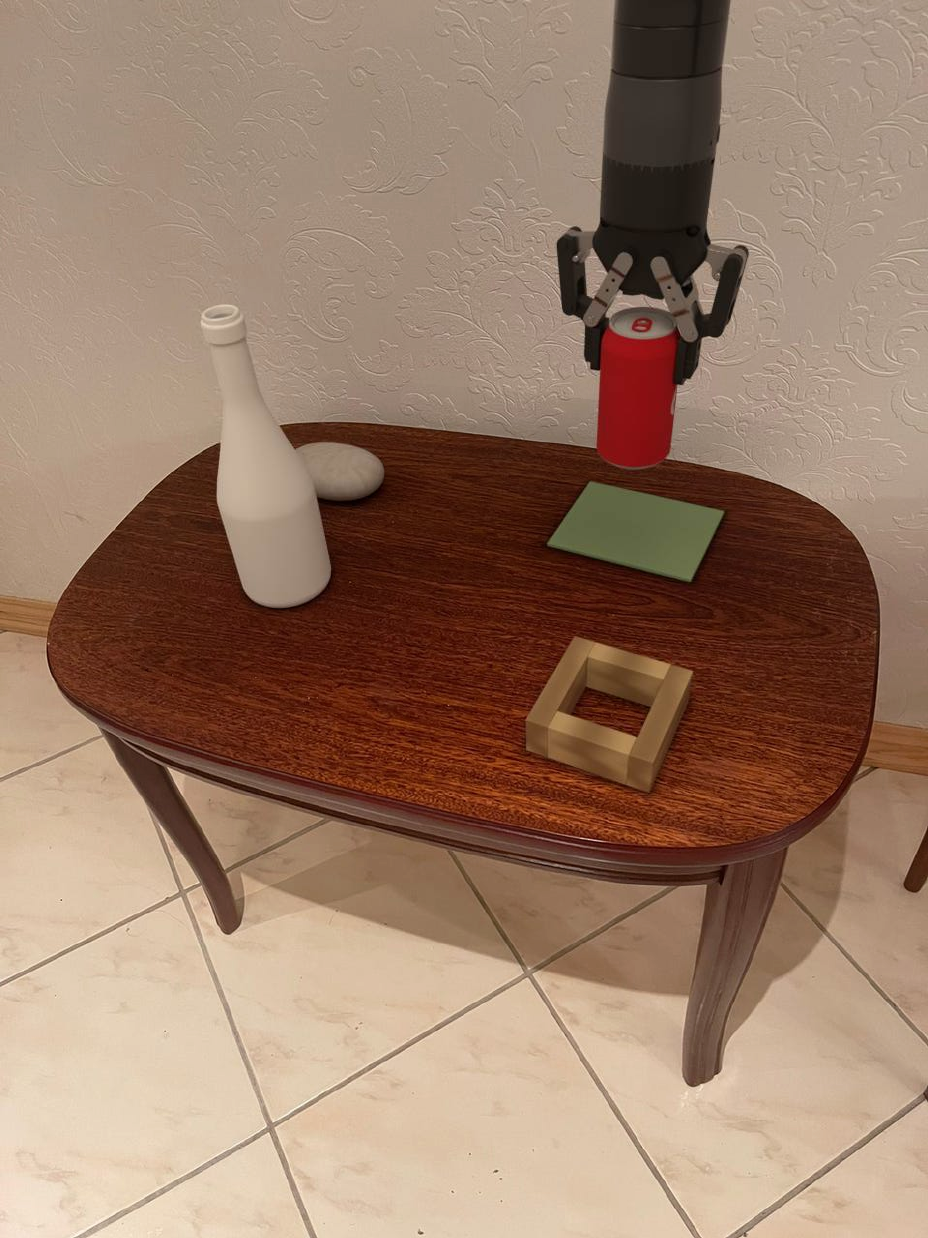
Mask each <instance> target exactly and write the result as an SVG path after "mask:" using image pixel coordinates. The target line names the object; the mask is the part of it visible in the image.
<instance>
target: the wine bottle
mask: <svg viewBox="0 0 928 1238" xmlns="http://www.w3.org/2000/svg"><path fill="white" fill-rule="evenodd" d="M200 327H201V331H202V335H203V338H204V341H205V342H206V343H208V345H209V349H210V350H209V351H210V354H211V359H212V363H213V367H214V371H215V375H216V380H217V383H218V387H219V391H220V396H221V400H222V423H221V436H220V437H221V438H220V450H219V459H218V466H217V467H218V469H217V476H216V503H217V507H218V510H219V514H220V517H221V520H222V524H223V527H224V530H225V533H226V537H227V541H228V543H229V547H230V550H231V553H232V556H233V560H234V563H235V567H236V570H237V574H238V576H239V580H240V583H241V586H242V590H243V591H244V593H245V594H246V595H247V597H248V598H249V599H251V600H252V602H254V603H256V604H258V605H260V606H264V607H267V608H273V609H287V608H291V607H298V606H300V605H303V604H306V603H308V602H309V601H311V600H313V599H315V598H316V597H318V596H319V595H320V594H321V593H322V592H323V591H324V590H325V589H326V587H327V586H328V583H329V582H330V580H331V575H332V574H331V572H332V565H331V561H330V556H329V555H330V554H329V549H328V545H327V541H326V537H325V532H324V526H323V521H322V517H321V512H320V508H319V507H320V506H319V503H318V497H316V492H315V487H314V483H313V480H312V478H311V476H310V474H309V472H308V470H307V468H306V467H305V465H304V463H303V461H302V460H301V458H300V457H299V455H298V454H297V452H296V451H295V449H296V448H294V446H293V445H292V443H291V442H290V439H288V437H287V436H286V434H285V433H284V431H283V429H282V427H281V426H280V424H279V423H278V421H277V420H276V419H275V417H274V415H273V413H272V412H271V411H270V409H269V407H268V406H267V403H266V402H265V399H264V397H263V395H262V393H261V390H260V387H259V382H258V379H257V375H256V371H255V367H254V363H253V360H252V355H251V351H250V348H249V344H248V341H247V338H246V336H247V334H248V329H247V323H246V320H245V316H244V314H243V313H242V312H241V311H240V309H239V307H237V306H236V305H233V304H217V305H213V306H211V307H208V308H206V309H205V310H204V311H202V313H201V320H200Z"/></svg>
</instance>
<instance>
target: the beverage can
mask: <svg viewBox="0 0 928 1238" xmlns="http://www.w3.org/2000/svg"><path fill="white" fill-rule="evenodd" d="M681 336H682V335H681V332H680V330H679V327H678V325H677V322H676V319H675V317H674V316H672V315H671V314H670V311H669V310H666V309H662V308H657V307H651V306H634V307H629V308H628V307H627V308H624V309H621V310H618V311H616V312H615V313H613V314H612V315H611V316H610V317H609V325H608V327H607V329H606V331H605V332H604V335H603V337H602V341H601V362H600V371H599V384H598V403H597V423H596V424H597V426H596V427H597V428H596V445H595V447H596V451H597V454H598V455H599V457H601V459H603V460H604V461H606V462H607V463H608V464H610V465H612V466H614V467H617V468H619V469H623V470H630V471H637V470H645V469H649V468H651V467H654V466H657V465H658V464H661V462H663V461H664V460H666V459H667V457H668V456H669V455H670V453H671V447H672V439H673V430H674V429H673V428H674V421H675V411H676V404H677V403H676V401H677V395H678V394H677V393H678V386H679V385H676V384H674V383H673V381H674V372H675V363H676V355H677V346H678V341H679V339H680V338H681Z"/></svg>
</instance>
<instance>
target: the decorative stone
mask: <svg viewBox="0 0 928 1238" xmlns="http://www.w3.org/2000/svg"><path fill="white" fill-rule="evenodd" d="M294 449H295V451H296V452H297V454H298V455H299V457H300V458H301V460H302V461H303V463H304V465H305V467H306V468H307V470H308V472H309V474H310V476H311V478H312V480H313V483H314V487H315V492H316V497H317V499H322V500H327V501H337V502H339V501H340V502H348V501H355V500H358V499H363V498H365V497H367V496H370V495H371V494H373V493H375V492H376V491H377V490H378V489H379V487H381V485H382V483H383V482H384V478H385V468H384V464H383V463H382V461H381V460H380V458H378V456H377V455H375V454H373V453H372V452H370V451H369V450H366V449H364V448H362V447H359V446H356V445H352V444H348V443H341V442H333V441H332V442H331V441H329V442H328V441H321V442H312V443H311V442H310V443H307V444H304V445H301V446H299V447H296V448H294Z"/></svg>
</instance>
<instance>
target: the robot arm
mask: <svg viewBox="0 0 928 1238" xmlns="http://www.w3.org/2000/svg"><path fill="white" fill-rule="evenodd" d="M731 2H732V0H614V5H613V7H614V8H613V21H612V22H613V23H612V24H613V25H612V41H611V57H610V61H611V62H610V74H609V83H608V89H607V93H606V99H605V105H604V107H605V108H604V118H603V119H604V120H603V139H602V141H603V142H602V160H601V181H600V202H599V203H600V204H599V223H598V227H597V228H596V230H595V231H594V230H593V231H591V230H590V231H584V230H582V229H581V227H579V226H577V225H574V226H571V227H570V228H569V229H568V230H567V231H565V233H563V234H562V236H560V237H559V238H558V239H557V241H556V244H555V245H556V256H557V269H558V281H559V291H560V292H559V293H560V303H561V310H562V312H563V314H564V315H565V316H568V317H572V316H574V317H577V318H578V319H580V320H581V321H582V322H583V324H584V338H583V339H584V340H583V341H584V345H583V357H584V361H585V362H586V363H589V369H590V370H591V371H596V372H600V362H601V341H602V337H603V335H604V332H605V331H606V329H607V327H608V325H609V320H610V317H607V312H608V311H609V310H610V308H611V306H612V305H613V303H614V302H615V300H616V299H617V296H618V294H619V293H620V292H622V294H621V295H623V296H630V297H631V296H632V297H633V296H640V295H641V296H642V295H643V296H646V297H648V298H650V299H654V300H660V301H663V300H664V302H665V304H666V306H667V309H668V312H670V314H671V315H672V316H674V317H675V319H676V322H677V326H678V329H679V331H680V334H681V338H680V339H679V341H678V346H677V355H676V363H675V372H674V381H673V383H674V384H676V385H678V386H684V384H685V383H686V381H687V380H691V379H692V377H693V376H694V374H695V372H696V371H697V369H698V368H699V363H700V356H701V355H700V354H701V347H702V341H703V339H704V338H707V337H710V338H713V339H718V338H720V337H721V336H722V335H723V333H724V332H725V329H726V327H727V326H728V325H729V324H730V321H731V318H732V317H733V312H734V309H735V305H736V303H737V298H738V296H739V291H740V287H741V285H742V280H743V277H744V273H745V271H746V267H747V263H748V259H749V256H750V251H749V249H748V248H747V246H746V245H743V244H738V245H736V246H734V247H733V248H730V247H726V246H721V245H717V244H713V243H712V241H711V239H710V237H709V232H708V228H707V227H708V226H707V224H708V215H709V210H710V209H709V208H710V201H711V193H712V184H713V177H714V170H715V162H716V155H717V154H716V153H717V146H718V143H719V142H720V135H721V134H720V133H721V123H720V121H721V115H722V114H721V113H722V104H723V103H722V99H723V98H722V97H723V96H722V95H723V86H722V84H723V65H724V59H725V51H726V43H727V35H728V28H729V27H728V26H729V20H730V19H729V18H730V16H729V15H730V10H731ZM591 249H593V251H594V253H595V255H596V256H597V258H598V259H599V261H600V263H601V264H602V267H603V268H604V270H605V272H606V276H605V278H604V279H603V281H602V283H601V285H600V286H599V288H598V290H597V292H596V293H595V295H594V297H591V296H589V295H588V290H587V275H586V260H587V259H588V258H589V257H590V256H591ZM704 262H706V263H708V264H709V266H710V267H711V277H712V279H713V280H714V281H716V282H718V284H717V288H716V292H715V295H714V300H713V303H712V307H711V311H710V313H705V312H704V310H703V307H702V304H701V302H700V297H699V294H700V293H699V289H698V286H697V283H696V281H695V277H694V273H696V271H697V270H698V269H700V267H701V266H702V265H703V264H704Z"/></svg>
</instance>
